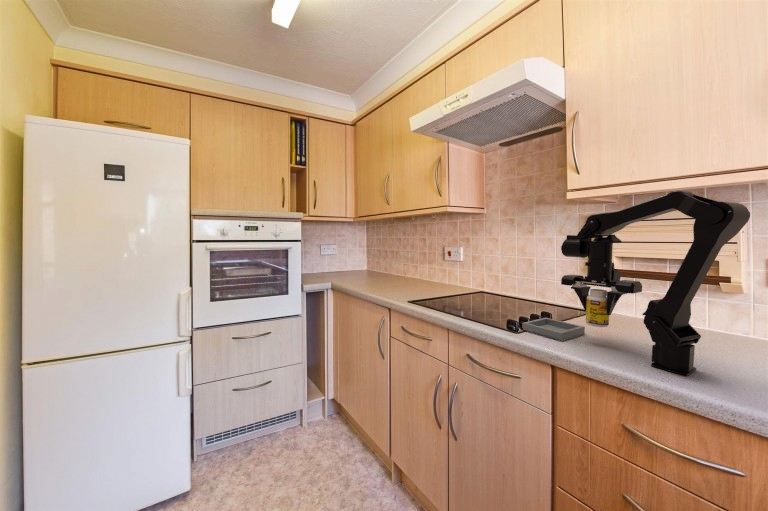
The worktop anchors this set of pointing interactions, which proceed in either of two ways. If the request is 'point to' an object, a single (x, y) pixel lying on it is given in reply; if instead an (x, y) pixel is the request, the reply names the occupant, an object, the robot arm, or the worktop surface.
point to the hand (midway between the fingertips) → (597, 312)
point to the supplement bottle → (597, 308)
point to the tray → (554, 329)
